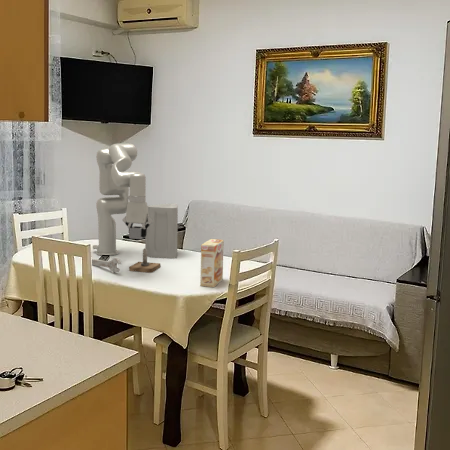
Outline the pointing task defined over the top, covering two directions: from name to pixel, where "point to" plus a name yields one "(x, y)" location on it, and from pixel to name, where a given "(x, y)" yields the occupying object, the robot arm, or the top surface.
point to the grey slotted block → (136, 232)
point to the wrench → (108, 264)
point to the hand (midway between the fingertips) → (137, 235)
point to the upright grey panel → (162, 231)
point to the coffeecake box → (211, 262)
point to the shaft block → (144, 265)
